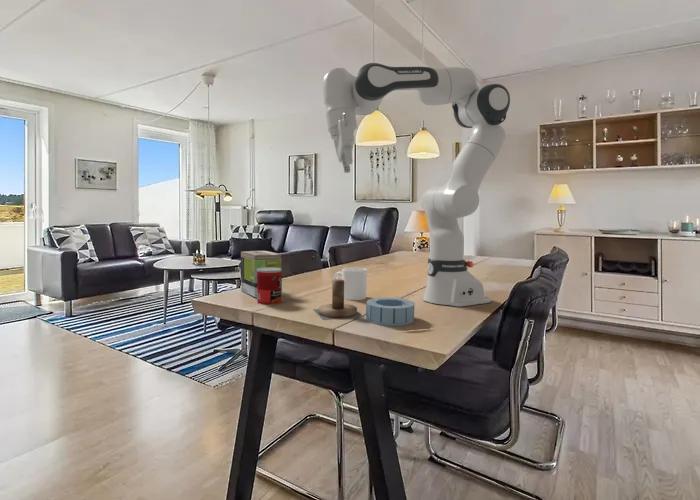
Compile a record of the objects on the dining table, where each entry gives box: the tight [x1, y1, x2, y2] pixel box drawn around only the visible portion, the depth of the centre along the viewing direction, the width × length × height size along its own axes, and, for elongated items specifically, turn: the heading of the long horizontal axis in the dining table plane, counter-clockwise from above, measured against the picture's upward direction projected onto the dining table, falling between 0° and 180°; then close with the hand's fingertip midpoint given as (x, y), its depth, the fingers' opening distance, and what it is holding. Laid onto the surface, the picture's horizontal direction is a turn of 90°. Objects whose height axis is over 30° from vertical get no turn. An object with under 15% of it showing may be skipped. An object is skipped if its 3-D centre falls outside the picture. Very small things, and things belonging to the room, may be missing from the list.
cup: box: [333, 267, 368, 301], centre depth 143 cm, size 8×12×10 cm
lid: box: [318, 279, 358, 319], centre depth 121 cm, size 11×11×10 cm
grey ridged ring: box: [365, 296, 416, 327], centre depth 115 cm, size 13×13×5 cm
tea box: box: [240, 250, 282, 299], centre depth 149 cm, size 15×10×15 cm, turn 33°
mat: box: [313, 308, 365, 321], centre depth 121 cm, size 12×12×1 cm
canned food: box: [256, 267, 283, 305], centre depth 134 cm, size 8×8×11 cm
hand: (348, 168), depth 125 cm, fingers open, 8 cm apart
